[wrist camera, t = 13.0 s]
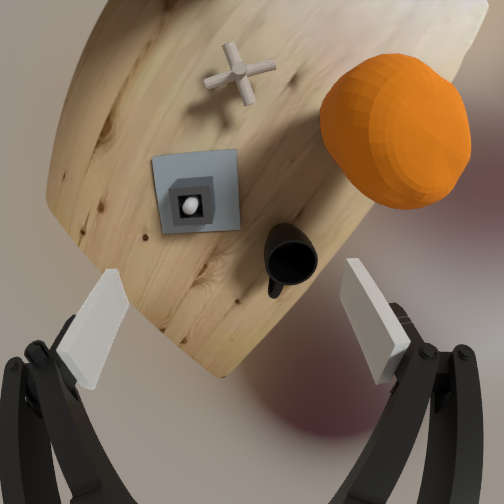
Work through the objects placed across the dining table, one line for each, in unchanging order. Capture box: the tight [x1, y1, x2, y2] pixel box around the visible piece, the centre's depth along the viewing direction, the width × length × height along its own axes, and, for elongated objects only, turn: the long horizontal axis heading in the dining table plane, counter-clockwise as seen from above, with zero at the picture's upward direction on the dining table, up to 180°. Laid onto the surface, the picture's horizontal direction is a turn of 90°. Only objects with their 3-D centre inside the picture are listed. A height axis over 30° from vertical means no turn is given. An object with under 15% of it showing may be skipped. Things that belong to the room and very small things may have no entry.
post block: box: [152, 149, 241, 234], centre depth 42 cm, size 14×14×8 cm
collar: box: [168, 176, 216, 226], centre depth 42 cm, size 6×6×6 cm
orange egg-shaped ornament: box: [320, 54, 471, 210], centre depth 29 cm, size 17×17×25 cm
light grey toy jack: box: [204, 42, 276, 106], centre depth 32 cm, size 10×10×10 cm
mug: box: [264, 223, 318, 299], centre depth 47 cm, size 8×12×10 cm
